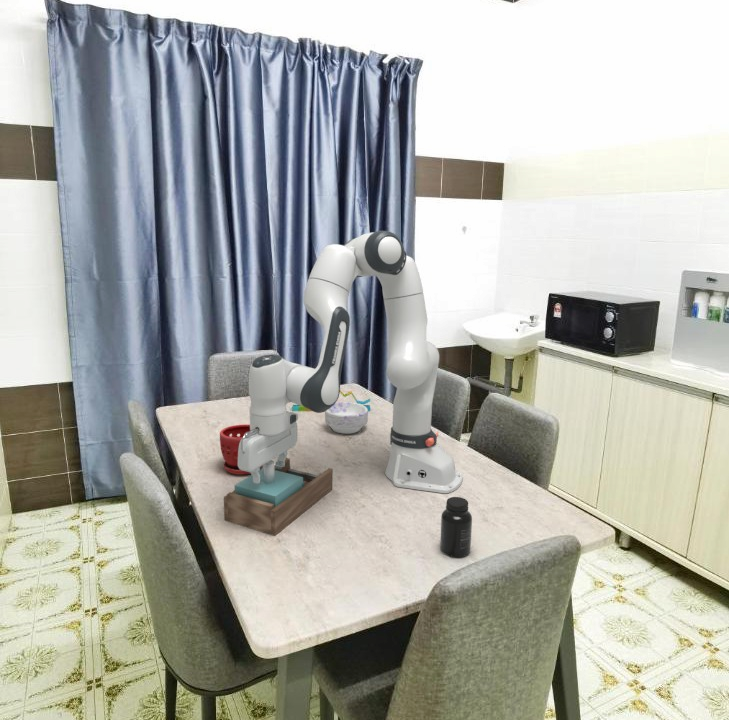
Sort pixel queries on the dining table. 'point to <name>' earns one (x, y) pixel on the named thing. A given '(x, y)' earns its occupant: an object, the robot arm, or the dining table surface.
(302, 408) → the chart
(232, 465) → the plant pot
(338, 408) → the paper bowls
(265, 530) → the bay
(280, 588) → the dining table surface
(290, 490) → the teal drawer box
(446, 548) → the supplement bottle
